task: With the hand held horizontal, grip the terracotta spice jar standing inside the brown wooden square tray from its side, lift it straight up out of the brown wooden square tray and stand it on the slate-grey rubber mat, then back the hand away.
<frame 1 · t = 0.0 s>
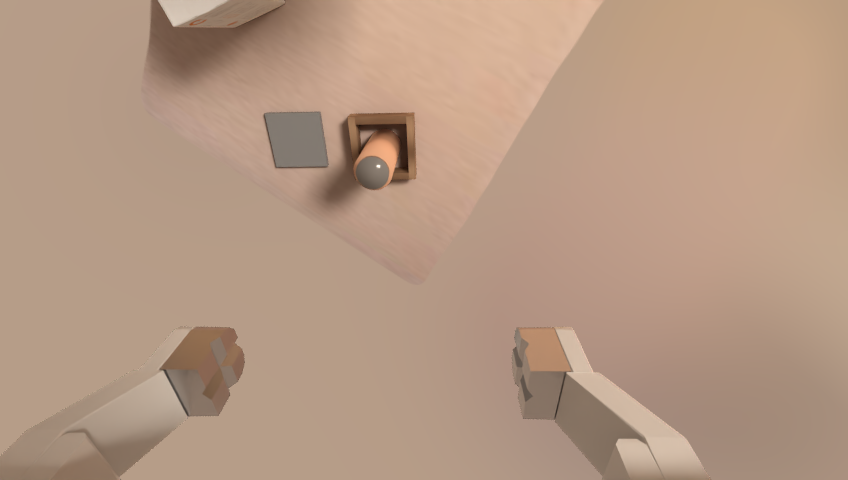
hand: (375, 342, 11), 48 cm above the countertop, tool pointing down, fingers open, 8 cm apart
jar: (379, 157, 51), in the brown wooden square tray
mat: (298, 139, 56), on the countertop
brown wooden square tray: (384, 145, 56), on the countertop
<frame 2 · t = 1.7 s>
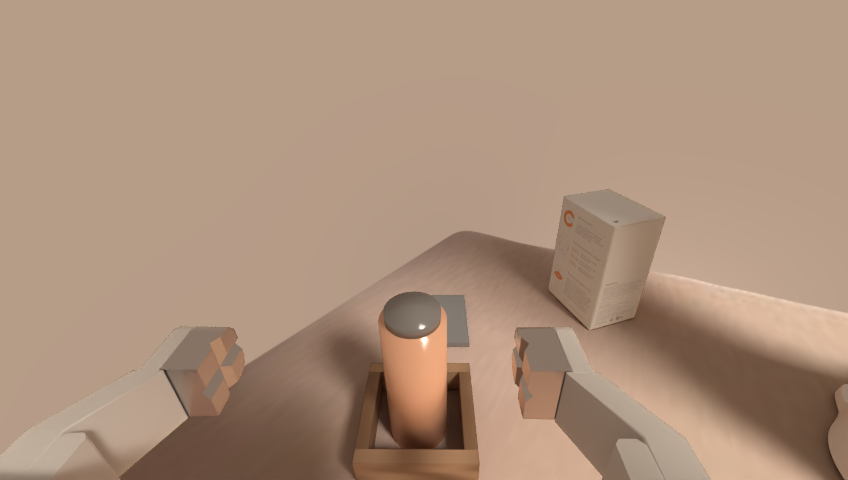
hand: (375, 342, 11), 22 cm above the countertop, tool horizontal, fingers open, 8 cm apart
jar: (415, 373, 29), in the brown wooden square tray
small box: (588, 304, 45), on the countertop
mat: (431, 321, 43), on the countertop
brown wooden square tray: (418, 424, 32), on the countertop
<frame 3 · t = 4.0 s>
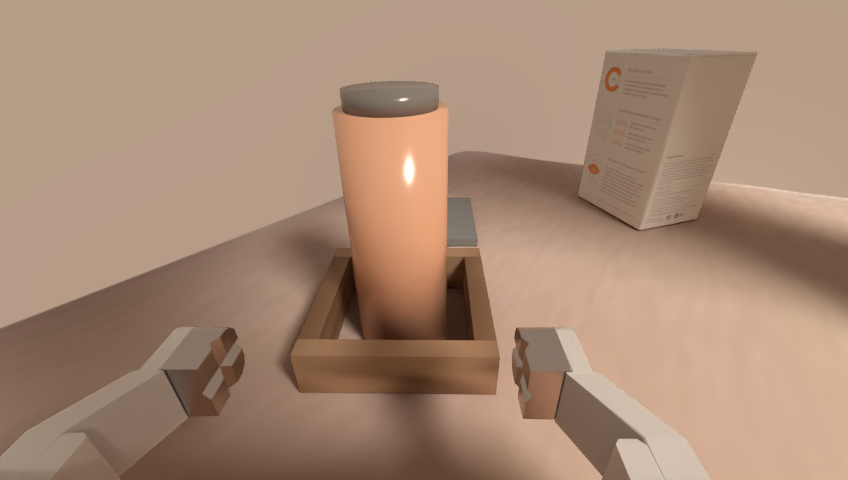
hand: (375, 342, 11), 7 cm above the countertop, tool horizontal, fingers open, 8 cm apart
jar: (398, 226, 18), in the brown wooden square tray
small box: (632, 209, 35), on the countertop
mat: (426, 222, 33), on the countertop
brown wooden square tray: (404, 325, 22), on the countertop
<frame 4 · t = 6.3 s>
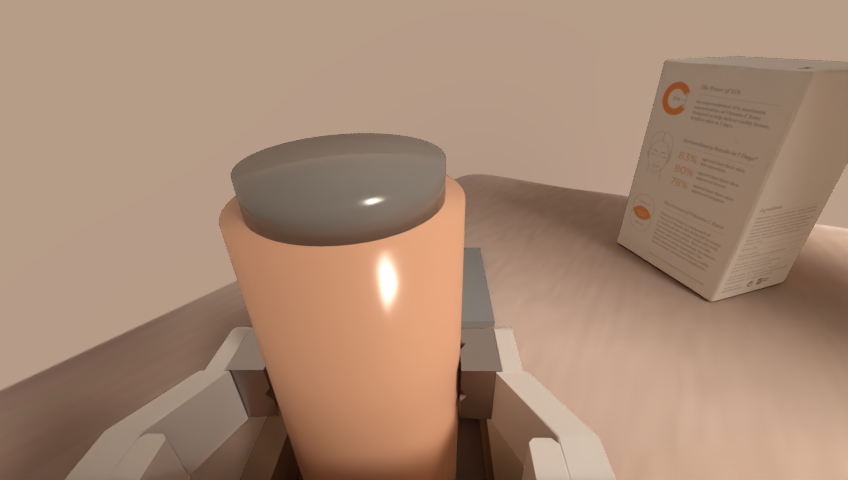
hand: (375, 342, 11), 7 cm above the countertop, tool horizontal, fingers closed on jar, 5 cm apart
jar: (372, 382, 10), in the brown wooden square tray, touching gripper
small box: (690, 263, 27), on the countertop
mat: (425, 286, 25), on the countertop
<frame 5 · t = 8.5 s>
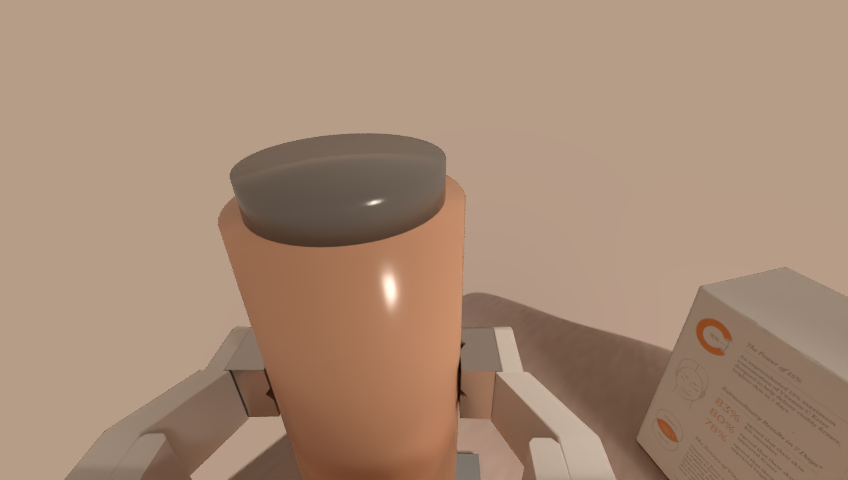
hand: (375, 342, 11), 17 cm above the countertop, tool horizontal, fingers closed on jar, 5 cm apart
jar: (372, 383, 10), point 16 cm above the countertop, touching gripper
when the fingers open (9 cm above the countertop, at t = 10.7 s): jar drops 1 cm, resting on mat.
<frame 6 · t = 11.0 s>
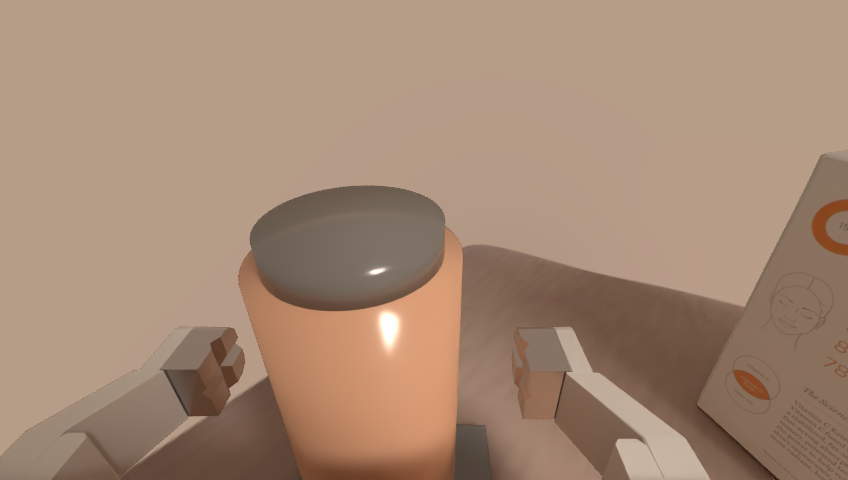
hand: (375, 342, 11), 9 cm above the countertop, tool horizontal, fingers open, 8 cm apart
jar: (375, 413, 11), on the mat, point 7 cm above the countertop
small box: (826, 462, 17), on the countertop
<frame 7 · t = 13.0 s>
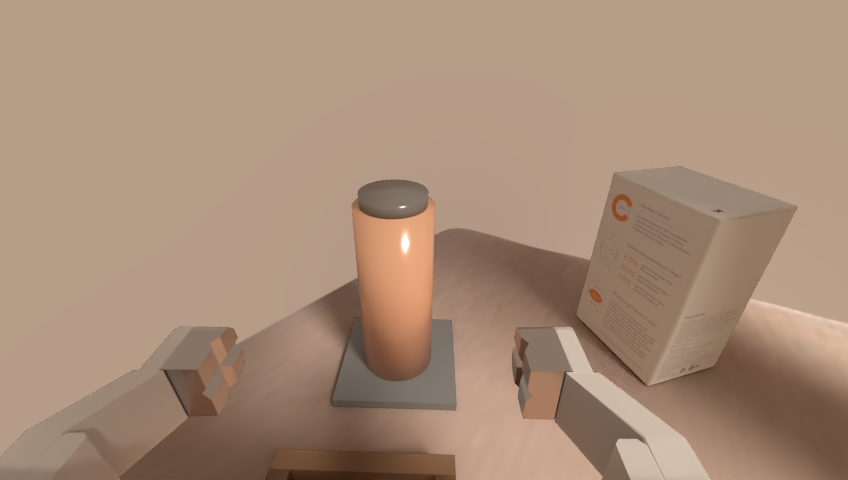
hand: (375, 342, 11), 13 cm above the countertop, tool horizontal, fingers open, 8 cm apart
jar: (396, 283, 24), on the mat, point 7 cm above the countertop
small box: (637, 341, 30), on the countertop
mat: (399, 360, 28), on the countertop
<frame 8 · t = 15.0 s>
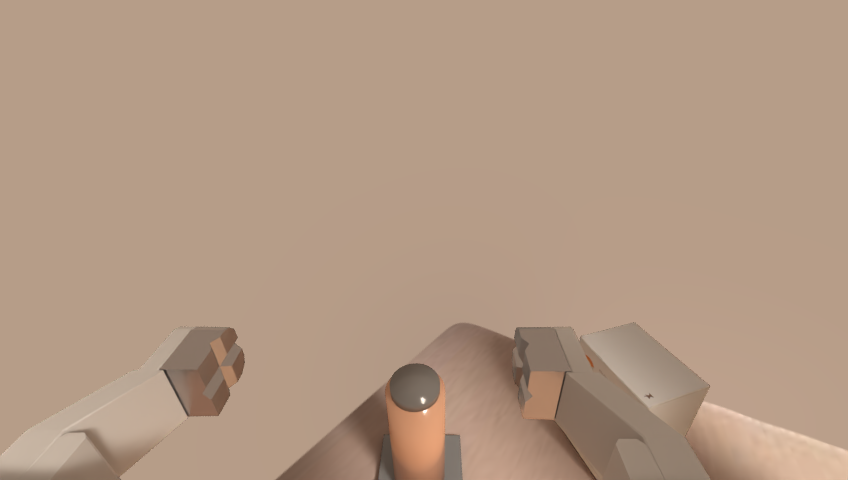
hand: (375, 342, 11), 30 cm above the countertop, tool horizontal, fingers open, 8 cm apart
jar: (417, 433, 33), on the mat, point 7 cm above the countertop
small box: (607, 451, 38), on the countertop
mat: (420, 477, 36), on the countertop
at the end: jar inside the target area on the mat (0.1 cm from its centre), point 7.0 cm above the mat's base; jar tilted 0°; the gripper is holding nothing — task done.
